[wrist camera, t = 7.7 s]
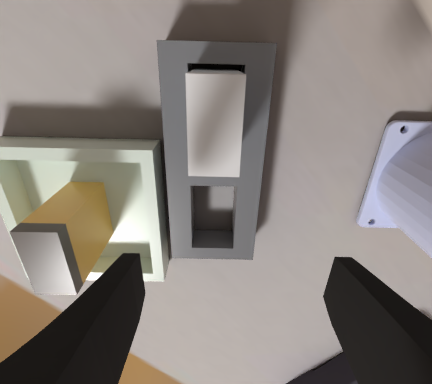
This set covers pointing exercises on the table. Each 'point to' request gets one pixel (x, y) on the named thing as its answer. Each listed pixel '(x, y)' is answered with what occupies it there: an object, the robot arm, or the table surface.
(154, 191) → the parts tray
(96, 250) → the yellow rectangular block
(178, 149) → the block
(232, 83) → the block
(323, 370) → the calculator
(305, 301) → the table surface
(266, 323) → the table surface
